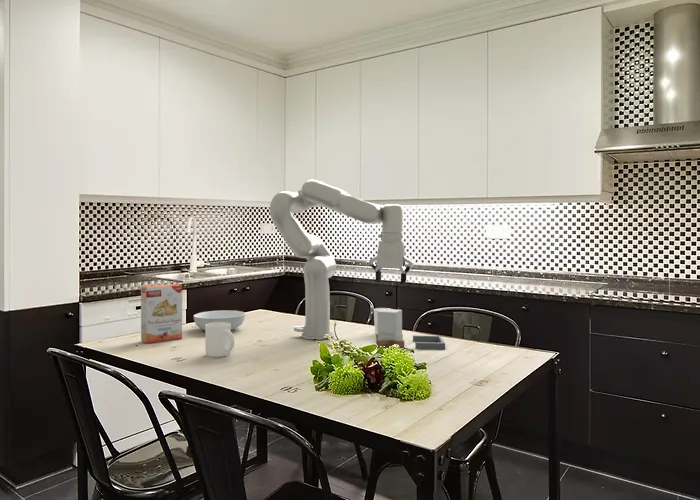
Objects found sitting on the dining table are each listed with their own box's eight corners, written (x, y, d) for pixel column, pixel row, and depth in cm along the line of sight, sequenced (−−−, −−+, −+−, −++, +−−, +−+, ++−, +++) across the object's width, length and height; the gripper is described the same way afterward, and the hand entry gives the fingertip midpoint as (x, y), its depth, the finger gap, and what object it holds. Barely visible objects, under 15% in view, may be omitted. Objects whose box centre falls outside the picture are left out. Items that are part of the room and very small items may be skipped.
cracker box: (146, 344, 197) (146, 287, 196) (140, 341, 201) (139, 285, 200) (183, 339, 206) (182, 284, 205) (176, 336, 210) (176, 283, 209)
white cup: (393, 332, 222) (393, 308, 221) (392, 336, 214) (393, 311, 213) (374, 331, 222) (374, 307, 222) (373, 335, 215) (373, 310, 214)
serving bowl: (222, 323, 238) (222, 308, 238) (255, 329, 226) (255, 313, 226) (182, 331, 221) (182, 314, 221) (216, 337, 209) (216, 320, 209)
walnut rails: (376, 347, 193) (376, 340, 193) (376, 340, 205) (376, 334, 205) (404, 348, 193) (404, 341, 193) (402, 340, 205) (402, 334, 205)
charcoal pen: (415, 348, 192) (415, 342, 192) (412, 340, 205) (412, 335, 205) (445, 348, 192) (445, 343, 192) (440, 341, 205) (440, 335, 205)
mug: (243, 355, 180) (243, 325, 180) (223, 360, 173) (223, 328, 173) (220, 350, 187) (219, 321, 187) (200, 355, 181) (200, 324, 180)
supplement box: (402, 343, 201) (402, 309, 200) (395, 347, 194) (396, 312, 194) (384, 341, 204) (384, 308, 203) (376, 345, 197) (377, 311, 197)
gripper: (366, 236, 201) (365, 282, 202) (410, 238, 194) (409, 285, 195) (374, 236, 208) (373, 280, 209) (417, 238, 201) (415, 283, 202)
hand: (390, 283), depth 202 cm, fingers open, 9 cm apart
